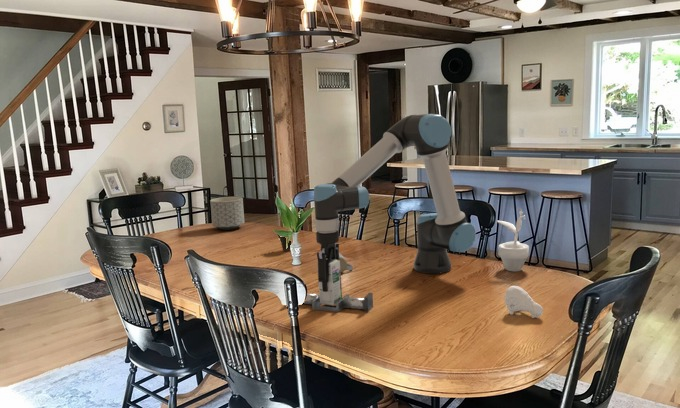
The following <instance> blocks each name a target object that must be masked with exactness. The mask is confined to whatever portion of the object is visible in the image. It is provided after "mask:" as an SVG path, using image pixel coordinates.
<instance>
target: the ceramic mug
mask: <svg viewBox="0 0 680 408" xmlns="http://www.w3.org/2000/svg"><path fill="white" fill-rule="evenodd" d="M339 260H340V272H341V274H342V273H344V272H345V271H346V270H348V271H353V269H354V265H352V264H350V263H348V262H347V259H346V258H345V257H344V256H343V255H342V253H340V252H339Z"/></svg>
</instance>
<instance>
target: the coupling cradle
mask: <svg viewBox="0 0 680 408" xmlns="http://www.w3.org/2000/svg"><path fill="white" fill-rule="evenodd" d="M306 293H307V292H306ZM304 304H305V305H311V306H312V311H313V310H314V311H325V312H333V313H340V311H342V310H343V309H345V308H347V309H355V310H356V309H357V310H364V313H369V312H370V311H371V310H372V309H373V308H374V298H373V292H368V293H367V294H366V295H365V296H364V297H362V298H361V297H352V296H350V294H349V293H346V294H345V295H344V296H342V299H340V300H339V301H338V302H337V303H336V304H335V306H336V307H334V306H323V305H322V303H320V295H319V294H318V293H317V294H316V293H307V298H306V301H305V303H304ZM304 304H303V305H304Z"/></svg>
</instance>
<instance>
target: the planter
mask: <svg viewBox="0 0 680 408" xmlns="http://www.w3.org/2000/svg"><path fill="white" fill-rule="evenodd" d="M209 202H210V211H211V213H210V215H211V224H212V226H213V227H215V228H217V229H220V230H222V231H232V230H236V229H239V227H241V225H244V224H246V223H245V213H244V212H245V211H244V209H245V208H244V199H243V197H241V196H223V197H221V196H220V197H217V198H212V199H210V200H209Z"/></svg>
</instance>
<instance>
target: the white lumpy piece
mask: <svg viewBox="0 0 680 408" xmlns="http://www.w3.org/2000/svg"><path fill="white" fill-rule="evenodd" d="M503 298H504V303H505V305H506V308H507V311H508V313H509V315H511V316H513V315H514V313H515V312H520V311H521V312H526V313H530V315H531V316H530V317H531V318H532V319H535V318H536V319H539V318H540V316H542V315H543V312H544V309H543V307H542V305H540V304H539V303H537V302H536V301H534V299H533V298H532V297H531V296H530V295H529V293H528V292H527V291H526V290H525V289H524V288H522V287H520V286H518V285H511V286H510V287H508V288H507V289H506V290H505V295H504V297H503Z"/></svg>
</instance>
